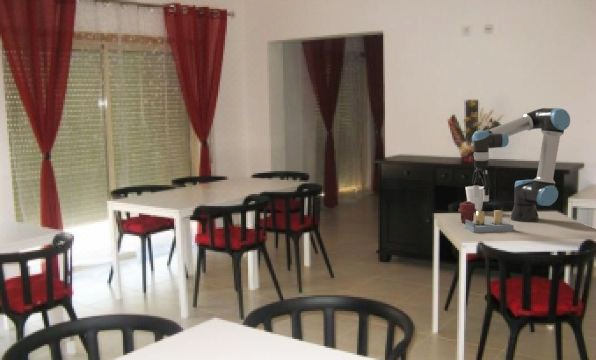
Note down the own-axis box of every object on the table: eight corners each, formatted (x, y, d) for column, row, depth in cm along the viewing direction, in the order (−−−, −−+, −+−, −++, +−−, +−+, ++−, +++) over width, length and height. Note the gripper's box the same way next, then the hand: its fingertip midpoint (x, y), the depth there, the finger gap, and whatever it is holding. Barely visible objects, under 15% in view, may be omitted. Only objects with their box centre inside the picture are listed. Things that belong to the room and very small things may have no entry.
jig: (503, 226, 346) (504, 208, 344) (513, 230, 334) (513, 212, 332) (465, 228, 343) (465, 210, 342) (473, 232, 332) (473, 214, 330)
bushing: (474, 229, 340) (474, 211, 339) (482, 228, 341) (482, 210, 339) (477, 230, 336) (477, 212, 335) (485, 230, 336) (485, 212, 335)
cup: (487, 214, 381) (487, 188, 379) (467, 214, 381) (468, 188, 379) (481, 211, 393) (482, 185, 391) (462, 211, 393) (463, 186, 391)
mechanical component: (475, 221, 361) (476, 225, 351) (457, 221, 363) (458, 224, 353) (475, 200, 359) (477, 203, 349) (457, 200, 361) (458, 203, 351)
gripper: (465, 158, 345) (465, 195, 348) (483, 162, 320) (483, 203, 323) (478, 157, 346) (478, 195, 349) (497, 161, 321) (497, 202, 324)
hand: (481, 199), depth 336 cm, fingers open, 13 cm apart
